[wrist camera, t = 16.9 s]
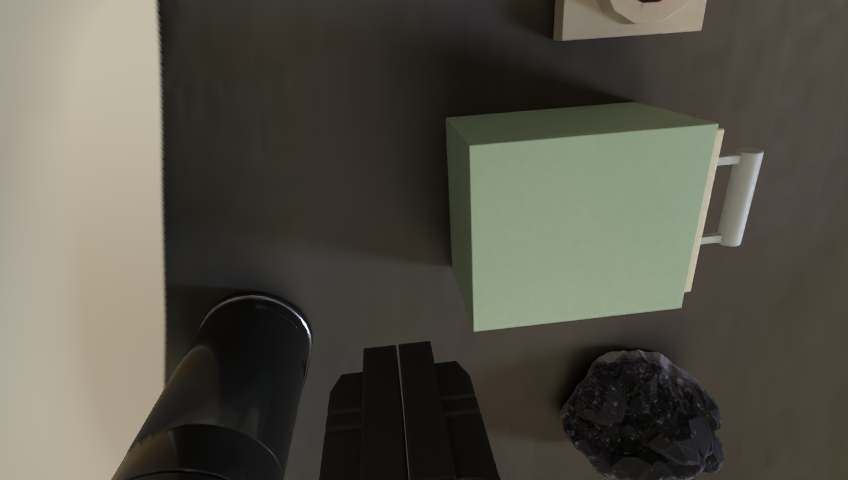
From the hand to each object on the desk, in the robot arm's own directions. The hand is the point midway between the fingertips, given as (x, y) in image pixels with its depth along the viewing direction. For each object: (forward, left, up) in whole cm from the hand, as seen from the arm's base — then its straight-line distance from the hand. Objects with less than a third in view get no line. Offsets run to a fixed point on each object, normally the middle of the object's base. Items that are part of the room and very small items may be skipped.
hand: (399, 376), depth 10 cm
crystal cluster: (-7, -36, -26) cm, 45 cm away
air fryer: (+4, -13, -26) cm, 29 cm away
